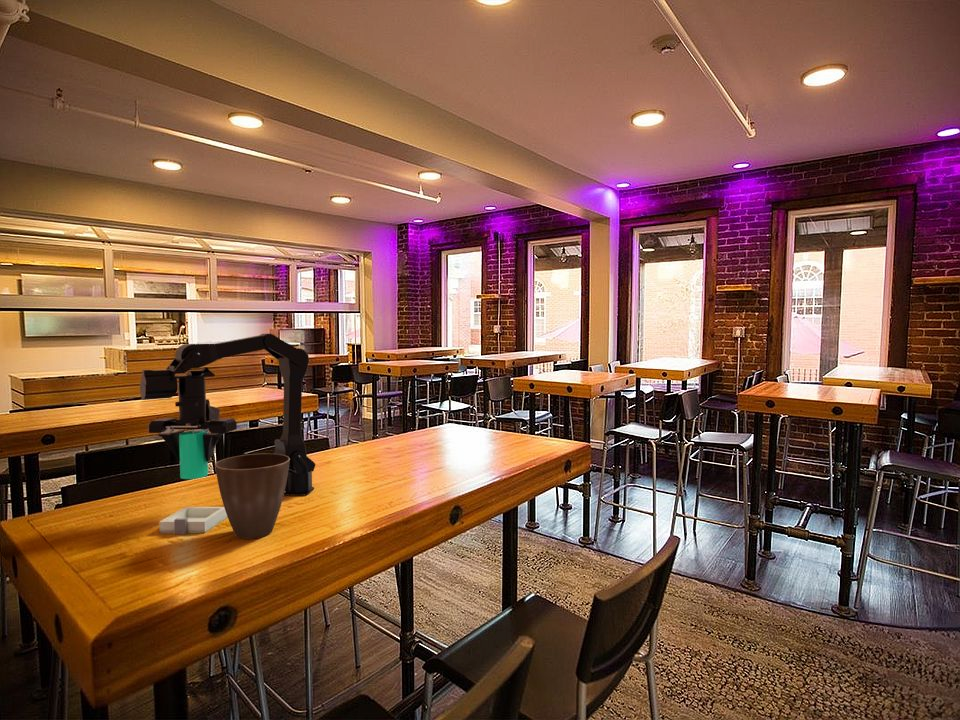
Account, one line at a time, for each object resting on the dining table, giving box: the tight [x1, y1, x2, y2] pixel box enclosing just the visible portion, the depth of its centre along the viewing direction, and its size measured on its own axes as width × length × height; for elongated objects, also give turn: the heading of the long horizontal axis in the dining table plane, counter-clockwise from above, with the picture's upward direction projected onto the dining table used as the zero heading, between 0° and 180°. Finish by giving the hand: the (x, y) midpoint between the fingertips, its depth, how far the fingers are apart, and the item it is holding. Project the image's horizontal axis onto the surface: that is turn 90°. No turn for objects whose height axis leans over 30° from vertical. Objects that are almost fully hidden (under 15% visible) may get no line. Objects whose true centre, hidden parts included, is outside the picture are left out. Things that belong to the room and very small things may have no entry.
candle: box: [179, 429, 209, 480], centre depth 127 cm, size 6×6×12 cm
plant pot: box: [214, 453, 290, 540], centre depth 115 cm, size 15×15×16 cm
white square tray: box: [158, 506, 228, 535], centre depth 120 cm, size 10×11×3 cm
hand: (194, 461), depth 127 cm, fingers closed on candle, 7 cm apart
